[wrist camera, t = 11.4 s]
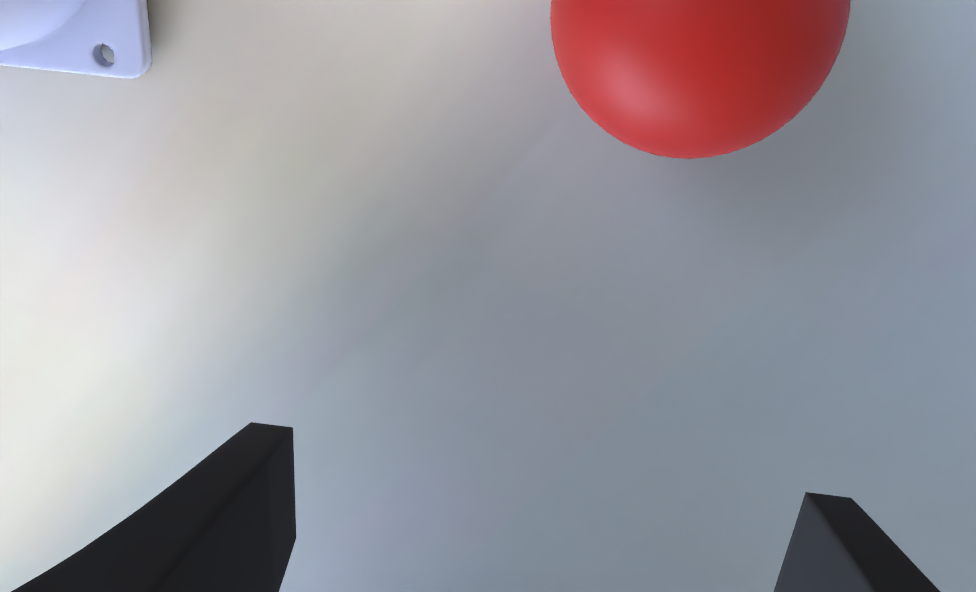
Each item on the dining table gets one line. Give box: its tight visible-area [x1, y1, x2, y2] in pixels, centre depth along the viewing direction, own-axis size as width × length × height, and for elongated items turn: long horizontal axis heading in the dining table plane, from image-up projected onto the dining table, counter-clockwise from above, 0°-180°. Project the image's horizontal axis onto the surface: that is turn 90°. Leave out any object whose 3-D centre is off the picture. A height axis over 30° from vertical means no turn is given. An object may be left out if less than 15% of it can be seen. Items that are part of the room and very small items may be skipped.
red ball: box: [550, 0, 850, 159], centre depth 16 cm, size 5×5×6 cm
